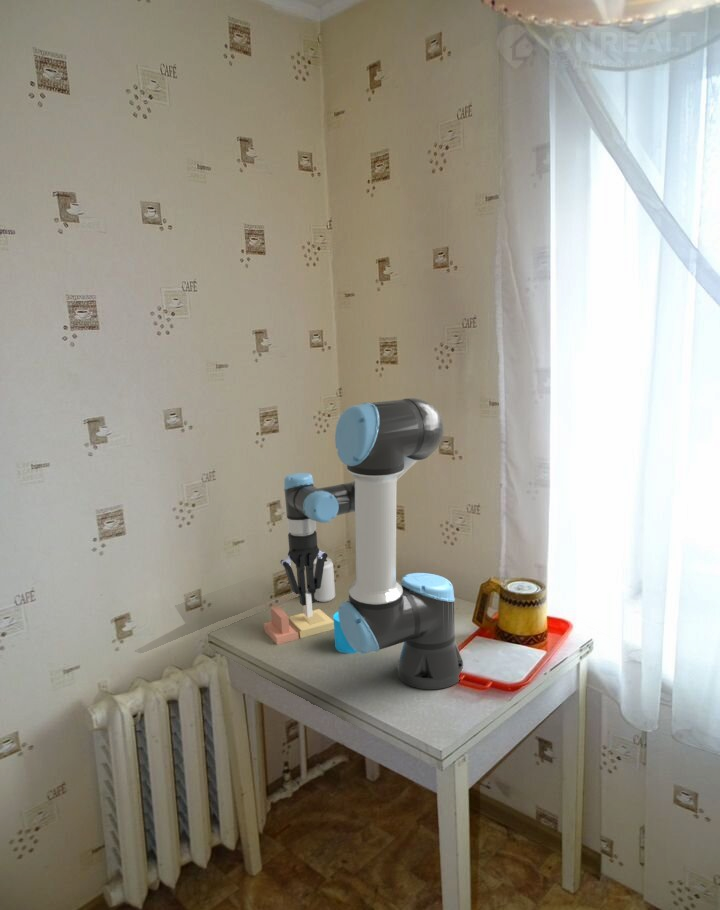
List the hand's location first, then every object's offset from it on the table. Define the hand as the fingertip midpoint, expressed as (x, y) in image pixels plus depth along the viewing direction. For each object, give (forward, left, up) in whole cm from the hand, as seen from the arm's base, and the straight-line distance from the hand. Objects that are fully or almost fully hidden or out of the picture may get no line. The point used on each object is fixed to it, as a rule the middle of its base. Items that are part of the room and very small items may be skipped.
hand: (308, 615), depth 182 cm
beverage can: (+15, -11, -4) cm, 19 cm away
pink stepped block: (0, +8, -3) cm, 9 cm away
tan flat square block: (0, 0, -3) cm, 3 cm away
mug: (-14, -5, -4) cm, 15 cm away
